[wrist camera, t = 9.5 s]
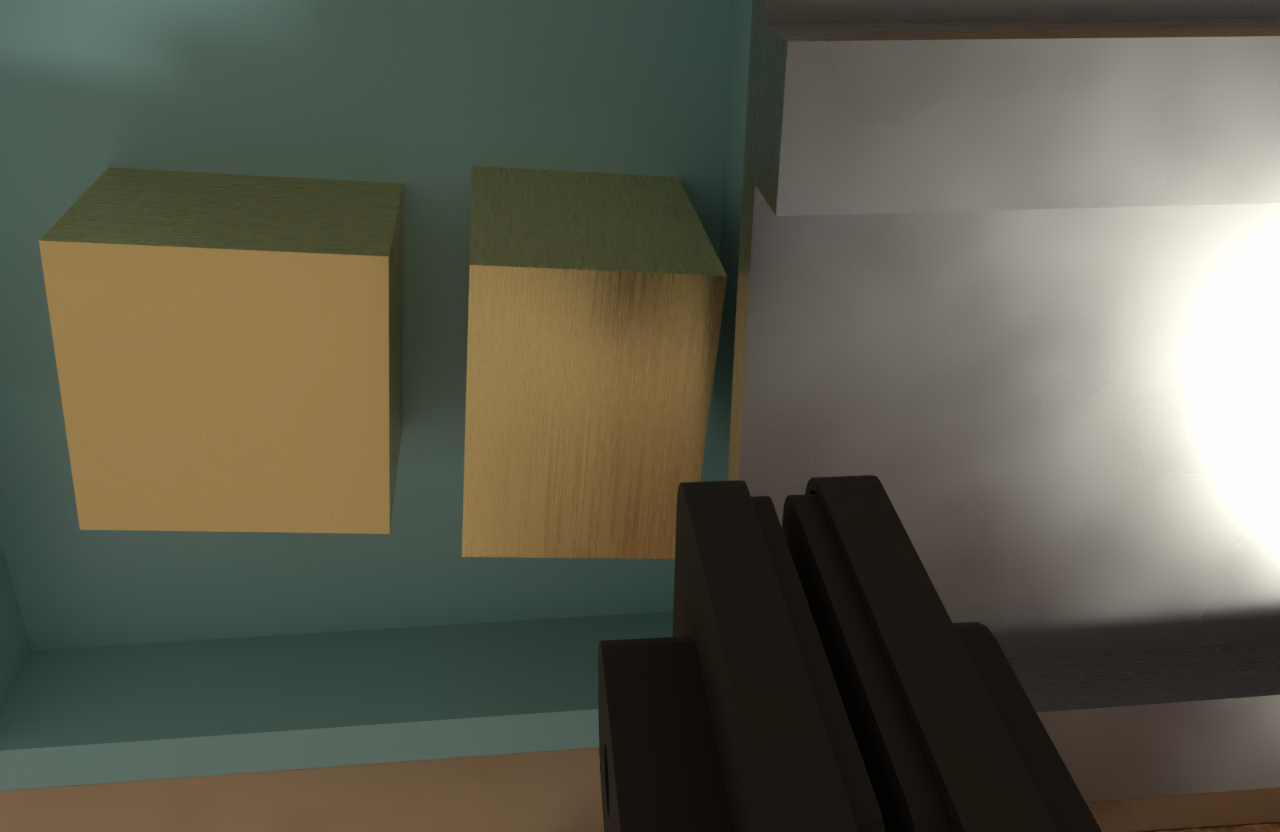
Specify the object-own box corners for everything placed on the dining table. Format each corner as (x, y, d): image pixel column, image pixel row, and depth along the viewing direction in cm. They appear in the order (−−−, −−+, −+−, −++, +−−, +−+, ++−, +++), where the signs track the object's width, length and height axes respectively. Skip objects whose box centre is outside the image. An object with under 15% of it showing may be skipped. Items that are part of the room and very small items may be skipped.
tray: (-267, -249, 15) (-433, -255, 12) (792, -234, 16) (854, -237, 13) (4, 668, 21) (-64, 795, 18) (739, 621, 22) (774, 734, 20)
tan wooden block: (678, 177, 18) (472, 165, 17) (727, 275, 14) (469, 265, 14) (652, 418, 20) (465, 413, 19) (690, 559, 16) (461, 556, 16)
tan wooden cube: (389, 256, 15) (403, 183, 17) (37, 240, 14) (108, 168, 17) (389, 534, 16) (402, 429, 19) (80, 529, 16) (136, 423, 19)
